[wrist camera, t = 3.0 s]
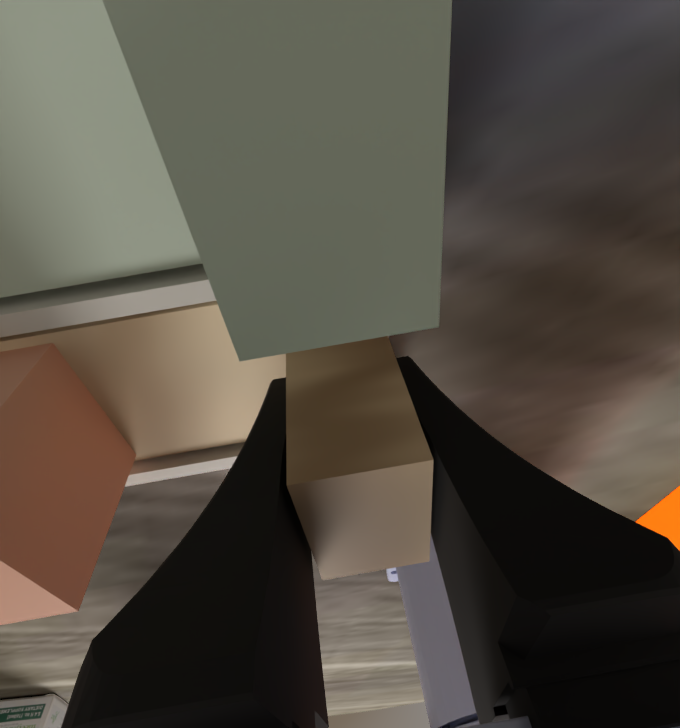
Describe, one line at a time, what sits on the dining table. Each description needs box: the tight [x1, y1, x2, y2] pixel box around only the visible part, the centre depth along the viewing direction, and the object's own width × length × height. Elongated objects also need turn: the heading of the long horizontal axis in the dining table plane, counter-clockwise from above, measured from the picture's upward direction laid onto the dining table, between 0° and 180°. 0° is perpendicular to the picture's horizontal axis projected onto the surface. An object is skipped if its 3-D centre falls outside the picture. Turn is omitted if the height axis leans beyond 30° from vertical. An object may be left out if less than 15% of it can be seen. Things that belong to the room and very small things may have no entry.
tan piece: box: [0, 301, 434, 580], centre depth 10 cm, size 14×6×6 cm, turn 97°
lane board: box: [0, 263, 389, 487], centre depth 11 cm, size 20×15×2 cm
